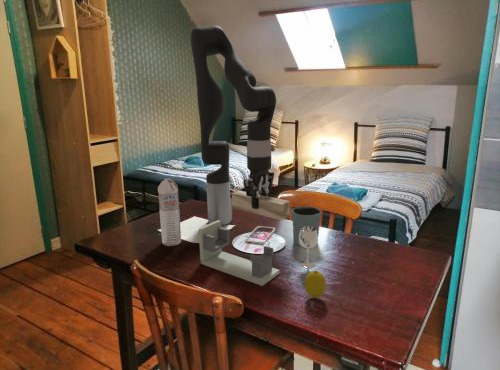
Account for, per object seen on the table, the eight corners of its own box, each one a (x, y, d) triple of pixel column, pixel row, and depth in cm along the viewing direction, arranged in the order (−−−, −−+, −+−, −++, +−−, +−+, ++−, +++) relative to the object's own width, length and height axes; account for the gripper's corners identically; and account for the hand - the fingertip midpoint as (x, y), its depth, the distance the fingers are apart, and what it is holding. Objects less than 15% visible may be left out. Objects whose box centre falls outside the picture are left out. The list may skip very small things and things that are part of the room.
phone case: (263, 245, 139) (275, 230, 153) (263, 242, 139) (275, 227, 152) (244, 243, 142) (257, 228, 155) (244, 239, 141) (257, 225, 155)
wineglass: (318, 261, 126) (319, 226, 122) (315, 270, 120) (316, 233, 117) (300, 259, 127) (301, 224, 124) (296, 267, 122) (297, 231, 119)
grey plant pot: (287, 245, 138) (288, 213, 135) (295, 235, 147) (296, 204, 144) (316, 250, 134) (317, 216, 131) (322, 238, 143) (324, 207, 140)
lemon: (302, 293, 108) (303, 266, 105) (322, 292, 108) (323, 265, 106) (306, 304, 102) (307, 276, 100) (327, 303, 103) (329, 275, 101)
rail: (239, 204, 134) (239, 190, 133) (289, 216, 122) (289, 201, 121) (232, 207, 131) (231, 193, 130) (282, 220, 119) (282, 204, 118)
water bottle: (183, 239, 145) (179, 173, 138) (178, 247, 138) (173, 177, 132) (165, 238, 145) (160, 172, 139) (159, 246, 139) (153, 177, 132)
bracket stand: (219, 253, 132) (218, 220, 129) (279, 273, 118) (279, 236, 115) (200, 263, 125) (198, 228, 122) (262, 286, 112) (262, 246, 108)
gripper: (262, 149, 129) (262, 199, 134) (235, 156, 118) (236, 210, 123) (281, 151, 125) (281, 203, 129) (255, 159, 114) (256, 215, 118)
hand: (259, 206), depth 126 cm, fingers closed on rail, 4 cm apart
